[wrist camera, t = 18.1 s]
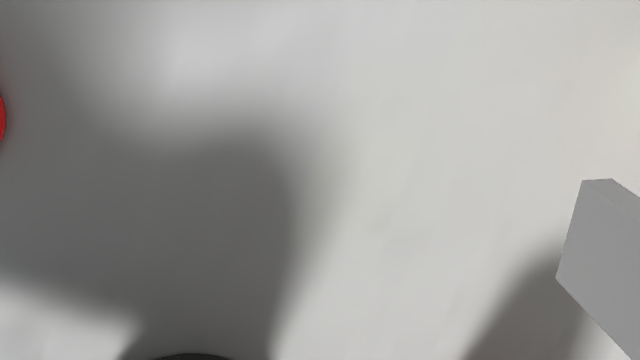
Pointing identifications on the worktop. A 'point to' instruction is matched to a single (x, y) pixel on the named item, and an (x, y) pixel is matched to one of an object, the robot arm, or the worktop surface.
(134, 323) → the worktop surface
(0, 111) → the tow hook
